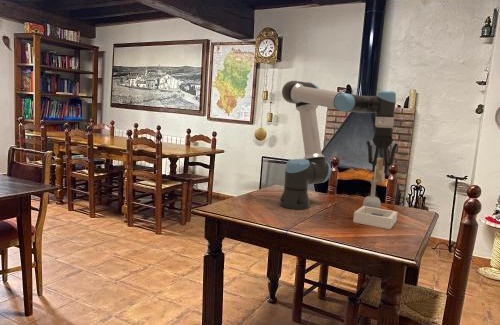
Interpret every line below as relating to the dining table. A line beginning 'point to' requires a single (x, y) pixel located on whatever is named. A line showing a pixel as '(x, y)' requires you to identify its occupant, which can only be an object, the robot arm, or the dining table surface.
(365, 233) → the dining table surface
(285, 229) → the dining table surface
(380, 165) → the tapered beige beam
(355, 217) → the white square tray
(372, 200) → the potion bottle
